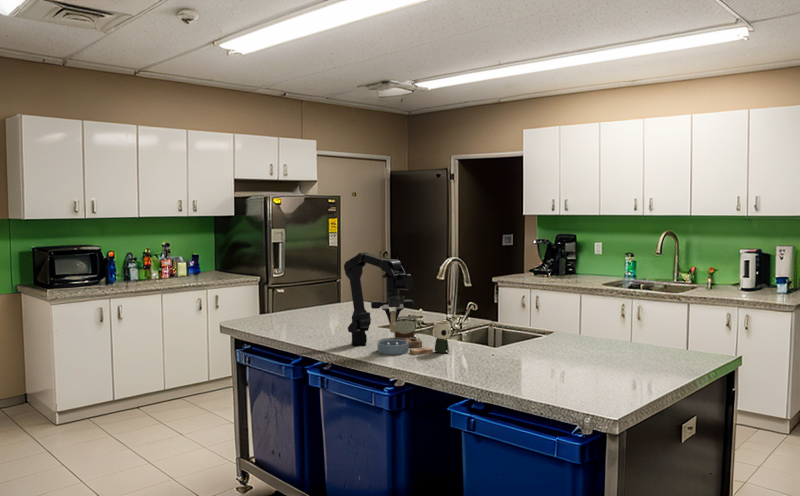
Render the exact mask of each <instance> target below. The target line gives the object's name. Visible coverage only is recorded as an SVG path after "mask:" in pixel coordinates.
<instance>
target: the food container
mask: <svg viewBox="0 0 800 496" xmlns="http://www.w3.org/2000/svg"><path fill="white" fill-rule="evenodd" d="M417 320H418V319H417V317H415V316H410V315H406V316H405V315H403V316H402V315H401V316H399V315H398V318H397V321H396V333H393V334H394V339H410V337H414V338H415V333H416V332H415V331H416V323H417V322H418V321H417Z"/></svg>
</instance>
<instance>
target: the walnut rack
mask: <svg viewBox="0 0 800 496" xmlns="http://www.w3.org/2000/svg"><path fill="white" fill-rule="evenodd" d="M404 341H407V342H408V345H409V348H410V349H412V348H423V341H422V340H421V339H420V337H416V338H415V337H414V338H404Z"/></svg>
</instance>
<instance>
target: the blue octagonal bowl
mask: <svg viewBox="0 0 800 496" xmlns="http://www.w3.org/2000/svg"><path fill="white" fill-rule="evenodd" d="M376 349H377V352H378V353H379V354H382V355H387V356H399V355H405V354H407V353H408V352H410V349H409V345H408V342H407V341H405V339H402V340H401V339H398V338H394V339H382V340H378V341H377V343H376Z"/></svg>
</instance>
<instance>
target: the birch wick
mask: <svg viewBox="0 0 800 496" xmlns="http://www.w3.org/2000/svg"><path fill="white" fill-rule="evenodd" d="M390 319H391V324H390V323H389V332H390V333H391V334H394V333H396V312H395V310H390Z"/></svg>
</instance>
